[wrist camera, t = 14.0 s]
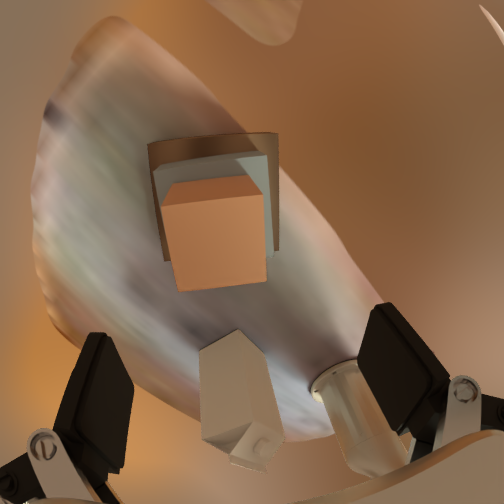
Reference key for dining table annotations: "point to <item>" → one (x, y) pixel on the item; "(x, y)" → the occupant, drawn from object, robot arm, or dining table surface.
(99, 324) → the dining table surface
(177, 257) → the orange cube
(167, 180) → the grey square block
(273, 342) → the dining table surface
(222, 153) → the base block
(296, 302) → the dining table surface
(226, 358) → the milk carton
